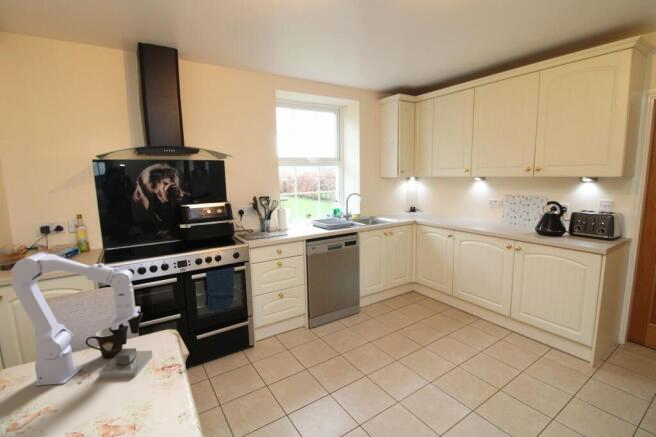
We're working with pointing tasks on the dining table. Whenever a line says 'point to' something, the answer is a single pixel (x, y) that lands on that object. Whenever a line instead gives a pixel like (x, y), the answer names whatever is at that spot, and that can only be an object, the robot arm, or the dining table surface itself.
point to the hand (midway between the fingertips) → (129, 338)
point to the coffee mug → (106, 343)
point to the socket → (126, 366)
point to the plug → (126, 356)
